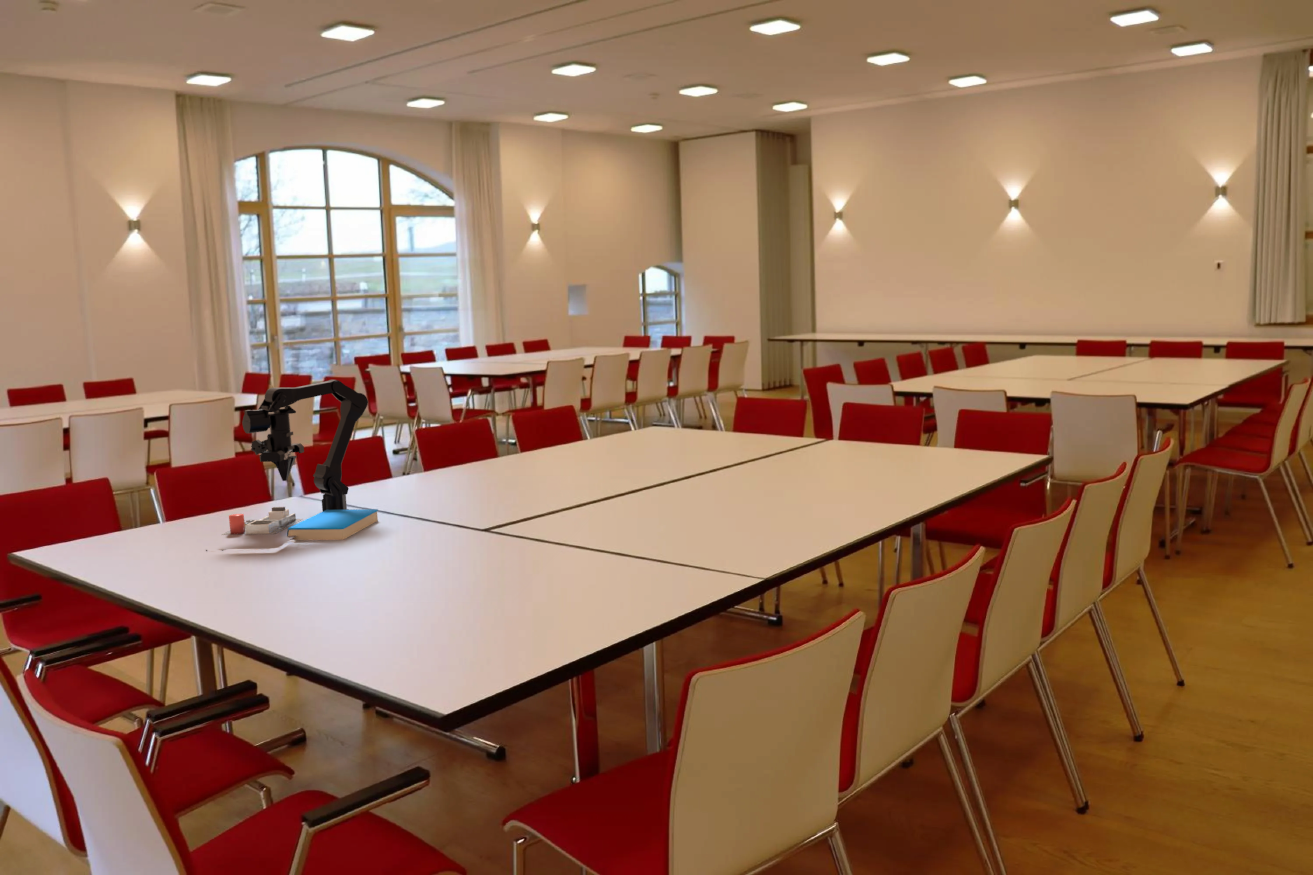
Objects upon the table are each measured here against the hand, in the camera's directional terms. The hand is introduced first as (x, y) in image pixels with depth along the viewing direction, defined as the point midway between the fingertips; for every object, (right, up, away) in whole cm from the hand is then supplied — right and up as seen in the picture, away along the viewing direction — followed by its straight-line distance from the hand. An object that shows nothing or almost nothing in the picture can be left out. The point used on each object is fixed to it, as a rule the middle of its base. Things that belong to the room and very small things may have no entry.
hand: (284, 480), depth 327 cm
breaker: (0, -12, -4) cm, 13 cm away
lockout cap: (-8, -14, -16) cm, 23 cm away
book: (+19, -15, -12) cm, 27 cm away
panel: (-3, -14, -9) cm, 17 cm away
